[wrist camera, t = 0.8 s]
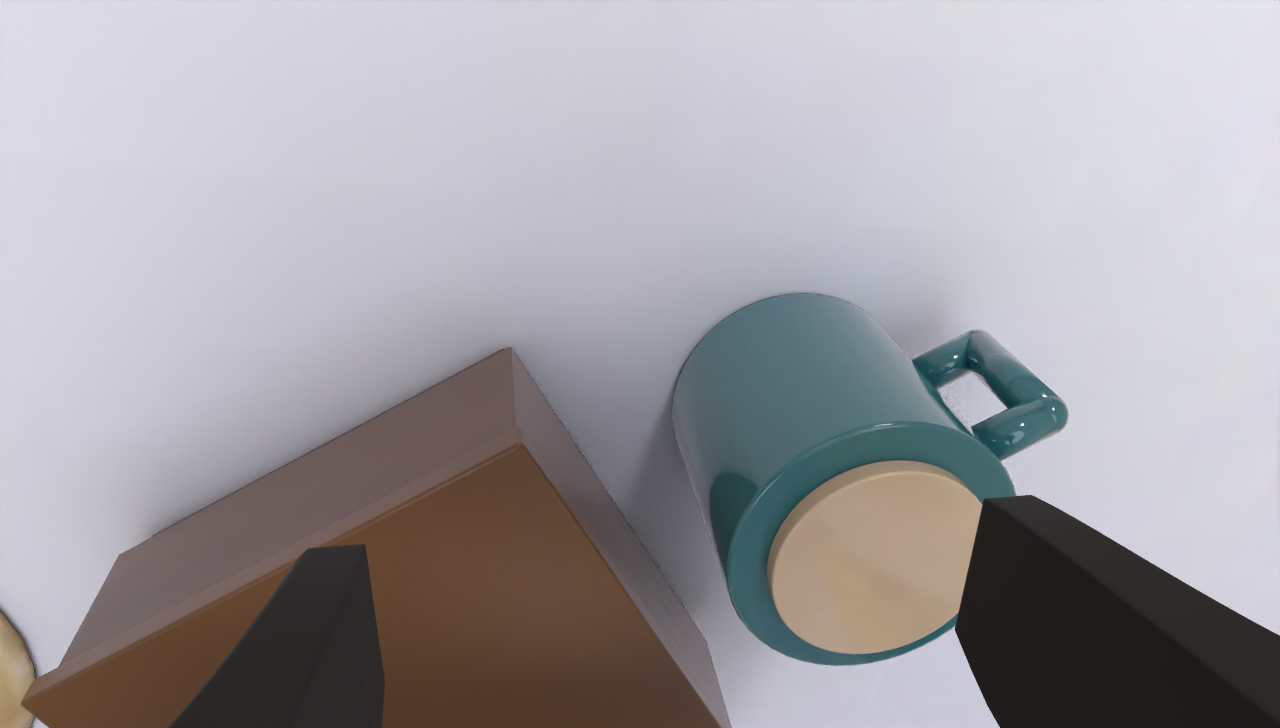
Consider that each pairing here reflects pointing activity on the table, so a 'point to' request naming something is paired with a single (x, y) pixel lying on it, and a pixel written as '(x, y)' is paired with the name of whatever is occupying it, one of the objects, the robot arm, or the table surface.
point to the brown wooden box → (414, 579)
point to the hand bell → (13, 677)
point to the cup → (846, 472)
